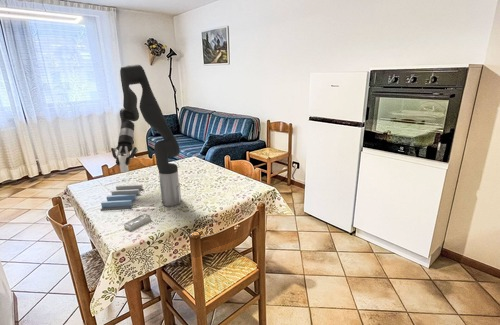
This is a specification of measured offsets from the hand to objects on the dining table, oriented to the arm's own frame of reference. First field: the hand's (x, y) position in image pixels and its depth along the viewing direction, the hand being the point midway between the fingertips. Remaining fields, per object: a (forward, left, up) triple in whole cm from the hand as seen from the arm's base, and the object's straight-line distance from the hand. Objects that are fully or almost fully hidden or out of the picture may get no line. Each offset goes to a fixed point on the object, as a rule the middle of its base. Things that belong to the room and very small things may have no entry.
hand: (122, 164), depth 144 cm
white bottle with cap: (0, -2, -5) cm, 5 cm away
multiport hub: (-14, +33, -18) cm, 40 cm away
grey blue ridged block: (0, +5, -18) cm, 19 cm away
